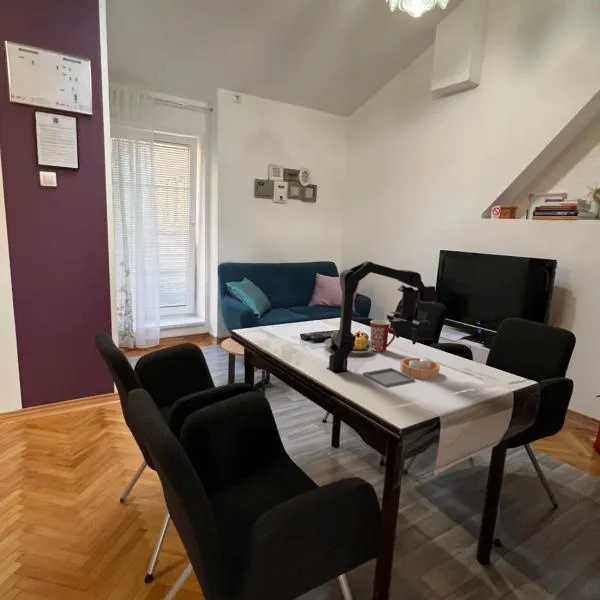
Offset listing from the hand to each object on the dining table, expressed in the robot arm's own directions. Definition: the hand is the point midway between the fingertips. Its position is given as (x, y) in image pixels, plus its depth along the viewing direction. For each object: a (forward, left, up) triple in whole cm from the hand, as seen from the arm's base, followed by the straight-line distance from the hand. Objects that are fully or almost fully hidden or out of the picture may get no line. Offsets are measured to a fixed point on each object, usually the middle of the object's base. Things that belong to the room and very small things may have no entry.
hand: (405, 341), depth 167 cm
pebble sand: (+6, -6, -11) cm, 14 cm away
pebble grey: (0, -6, -11) cm, 13 cm away
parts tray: (-13, -6, -12) cm, 19 cm away
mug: (+8, +23, -12) cm, 27 cm away
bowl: (+3, -6, -12) cm, 14 cm away
